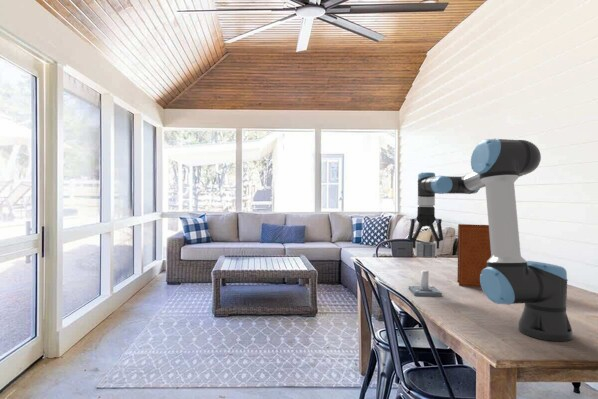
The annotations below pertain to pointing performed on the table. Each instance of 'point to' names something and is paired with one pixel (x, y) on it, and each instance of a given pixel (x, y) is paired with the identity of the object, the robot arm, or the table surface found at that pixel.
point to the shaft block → (424, 287)
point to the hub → (426, 249)
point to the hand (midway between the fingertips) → (425, 255)
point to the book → (472, 253)
